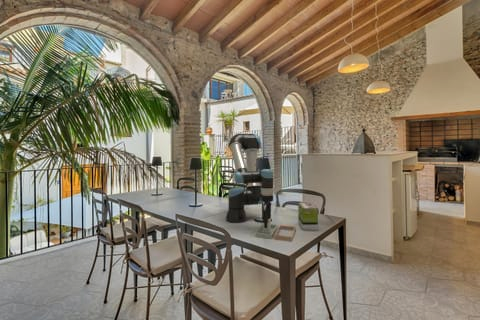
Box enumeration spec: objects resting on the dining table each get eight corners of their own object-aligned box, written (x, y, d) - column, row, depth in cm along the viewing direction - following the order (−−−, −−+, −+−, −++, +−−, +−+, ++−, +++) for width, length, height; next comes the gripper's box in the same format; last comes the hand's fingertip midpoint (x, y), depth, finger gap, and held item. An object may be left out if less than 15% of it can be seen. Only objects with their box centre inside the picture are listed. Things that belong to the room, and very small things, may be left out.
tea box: (297, 222, 171) (297, 202, 171) (312, 222, 171) (312, 202, 170) (302, 230, 156) (302, 207, 156) (318, 230, 156) (318, 207, 155)
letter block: (262, 232, 152) (262, 219, 151) (264, 230, 155) (264, 217, 155) (269, 233, 150) (269, 220, 150) (270, 231, 154) (270, 218, 153)
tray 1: (255, 236, 146) (255, 232, 146) (262, 226, 163) (262, 223, 163) (271, 238, 143) (271, 234, 142) (277, 228, 160) (277, 224, 159)
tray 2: (274, 239, 142) (274, 234, 142) (279, 228, 159) (279, 225, 159) (291, 241, 139) (291, 236, 139) (295, 230, 156) (295, 226, 155)
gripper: (270, 197, 142) (269, 237, 143) (275, 192, 158) (275, 227, 159) (257, 196, 144) (257, 235, 146) (264, 191, 160) (264, 226, 162)
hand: (266, 231), depth 153 cm, fingers closed on letter block, 4 cm apart
